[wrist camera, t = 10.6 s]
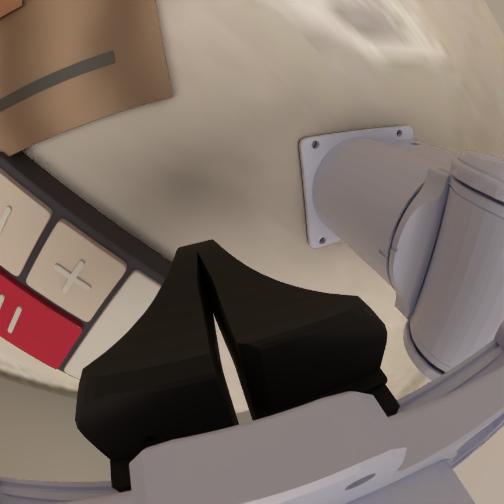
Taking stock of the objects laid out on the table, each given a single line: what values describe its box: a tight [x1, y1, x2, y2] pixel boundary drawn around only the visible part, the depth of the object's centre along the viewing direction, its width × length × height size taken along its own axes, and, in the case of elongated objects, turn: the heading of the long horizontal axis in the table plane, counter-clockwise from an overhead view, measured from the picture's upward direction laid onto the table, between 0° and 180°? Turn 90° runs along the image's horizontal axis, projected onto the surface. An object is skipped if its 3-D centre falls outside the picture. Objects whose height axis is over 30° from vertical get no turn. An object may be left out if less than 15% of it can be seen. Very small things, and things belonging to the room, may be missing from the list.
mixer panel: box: [0, 0, 173, 156], centre depth 10 cm, size 15×13×2 cm
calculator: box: [0, 151, 172, 380], centre depth 17 cm, size 11×4×15 cm
